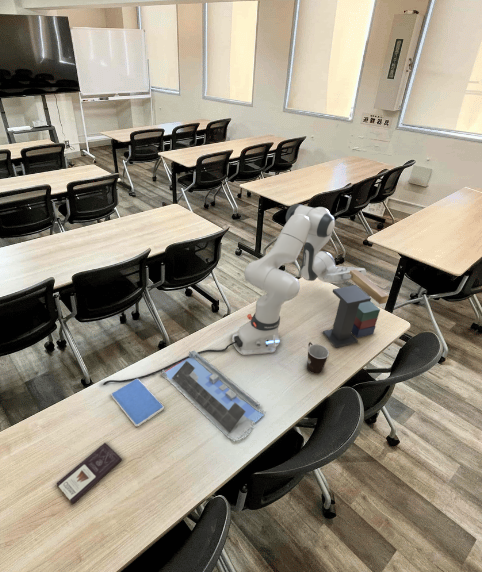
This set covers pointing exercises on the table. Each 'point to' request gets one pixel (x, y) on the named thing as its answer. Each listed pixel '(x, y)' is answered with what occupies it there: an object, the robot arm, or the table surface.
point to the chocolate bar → (88, 473)
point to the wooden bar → (369, 287)
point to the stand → (346, 315)
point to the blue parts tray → (215, 396)
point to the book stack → (365, 319)
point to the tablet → (137, 402)
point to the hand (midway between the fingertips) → (356, 275)
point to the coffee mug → (316, 357)
